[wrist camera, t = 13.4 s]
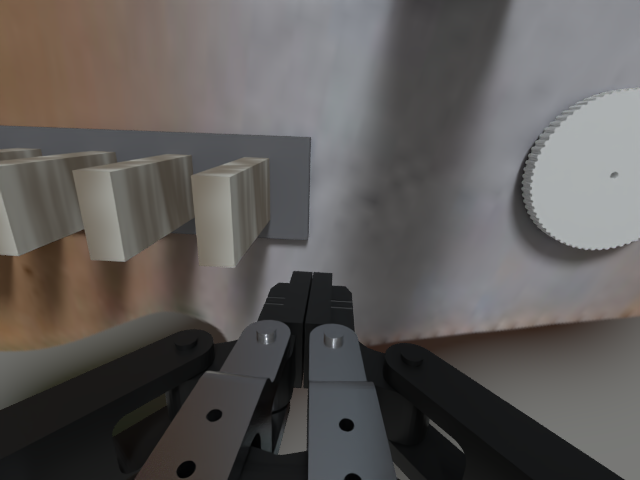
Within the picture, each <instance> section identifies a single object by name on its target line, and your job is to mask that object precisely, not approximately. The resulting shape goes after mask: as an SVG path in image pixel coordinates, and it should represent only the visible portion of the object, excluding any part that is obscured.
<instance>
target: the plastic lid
mask: <svg viewBox="0 0 640 480" xmlns="http://www.w3.org/2000/svg"><path fill="white" fill-rule="evenodd" d="M555 119H556V120H555V121H552V122H551V123H550V126H549V127H546V128H545V129H544V131H545V132H544V133H543V134H540V135H539V137H540V138H539V140H536V141H535V146H534V147H532V148H531V150H532V152H531V153H530V154H529V155H528V157H529V159H528V160H526V162H525V164H527V165H526V167H524V169H523V170H524V171H525V173H524V174H523V175H522V177H523V178H524V180H523V181H522V184H523V187H522V191H523V194H522V197H524V200H523V203H526V205H525V208H526V209H528V211H527V213H528V214H529V215H531V216H530V219H532V220H534V221H533V223H534V224H536V225H537V227H538V228H539V229H541V231H542V232H544V233H546V235H548V236H550V237H552V238H553V239H555V240H557V241H559V242H561V243H564V244H565V245H568V246H571V247H574V248H575V247H576V248H578V249H581V248H583V249H585V250H588V249H590V250H595V249H597V250H602V249H603V248H604V249H606V250H607V249H609V248H610V247H611V248H616V246H620V247H621V246H623V245H624V244H630V243H631V242H632V241H634V242H635V241H637V240H638V238H640V88H628V89H620V90H613V91H607V92H603V93H599V94H598V95H593V96H591V98H585V99H583V101H580V102H577V103H576V105H575V106H570V107H569V110H566V111H563V112H562V115H561V116H557V117H556V118H555Z"/></svg>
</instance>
